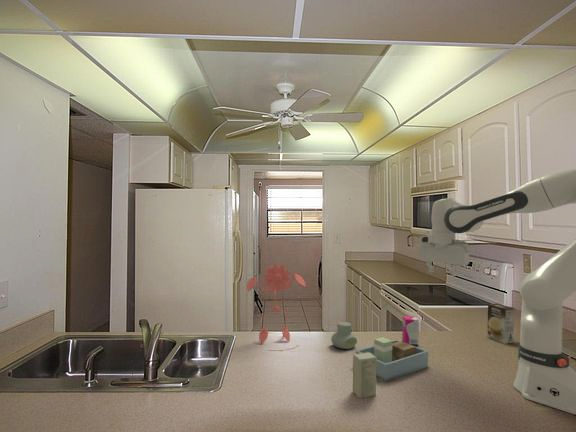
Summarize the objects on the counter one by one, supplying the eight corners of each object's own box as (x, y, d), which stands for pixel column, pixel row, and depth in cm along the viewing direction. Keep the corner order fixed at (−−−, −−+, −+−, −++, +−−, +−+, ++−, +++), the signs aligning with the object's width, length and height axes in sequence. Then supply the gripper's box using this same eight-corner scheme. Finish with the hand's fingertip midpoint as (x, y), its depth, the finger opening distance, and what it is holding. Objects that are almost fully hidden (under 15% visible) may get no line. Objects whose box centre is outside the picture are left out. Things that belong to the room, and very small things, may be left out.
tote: (427, 366, 130) (428, 351, 130) (385, 382, 117) (386, 364, 117) (396, 353, 142) (396, 339, 142) (355, 366, 129) (355, 350, 129)
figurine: (244, 339, 154) (246, 261, 153) (299, 336, 159) (302, 261, 159) (247, 353, 139) (250, 267, 138) (309, 350, 144) (311, 267, 144)
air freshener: (346, 341, 155) (346, 319, 155) (359, 347, 148) (360, 324, 148) (327, 346, 149) (328, 323, 149) (341, 352, 142) (341, 328, 142)
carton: (391, 368, 126) (392, 340, 126) (383, 371, 123) (383, 343, 123) (382, 363, 130) (382, 337, 130) (373, 366, 127) (374, 339, 127)
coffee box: (486, 337, 164) (486, 303, 164) (495, 336, 167) (496, 303, 167) (504, 344, 156) (505, 308, 156) (514, 342, 158) (514, 307, 158)
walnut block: (415, 362, 132) (415, 346, 132) (403, 366, 128) (404, 350, 128) (400, 355, 138) (400, 340, 138) (388, 359, 134) (389, 344, 134)
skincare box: (369, 389, 112) (369, 351, 112) (376, 396, 107) (377, 357, 107) (351, 391, 110) (352, 353, 110) (358, 398, 105) (359, 359, 106)
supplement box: (414, 341, 157) (415, 316, 157) (418, 346, 151) (419, 320, 151) (401, 340, 158) (402, 315, 158) (405, 345, 152) (405, 319, 152)
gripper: (473, 241, 130) (472, 277, 130) (425, 237, 147) (424, 270, 147) (464, 241, 126) (463, 278, 126) (416, 237, 143) (415, 270, 143)
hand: (442, 274), depth 137 cm, fingers open, 8 cm apart
